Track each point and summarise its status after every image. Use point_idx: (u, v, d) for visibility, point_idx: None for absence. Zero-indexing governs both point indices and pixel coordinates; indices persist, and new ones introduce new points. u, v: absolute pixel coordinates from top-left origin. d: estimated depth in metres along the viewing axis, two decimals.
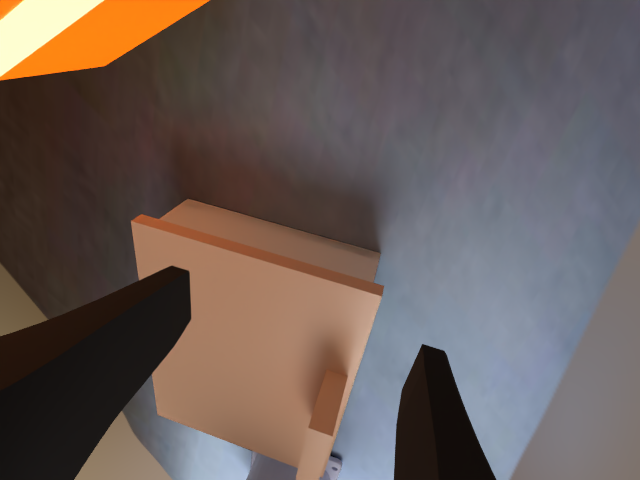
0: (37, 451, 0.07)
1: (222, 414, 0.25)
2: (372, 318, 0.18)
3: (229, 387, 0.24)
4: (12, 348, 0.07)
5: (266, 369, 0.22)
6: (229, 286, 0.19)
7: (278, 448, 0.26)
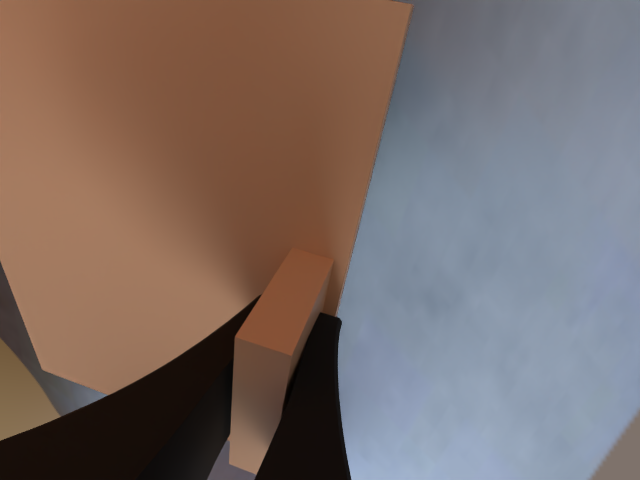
0: None
1: (131, 362, 0.15)
2: (386, 86, 0.08)
3: (131, 307, 0.14)
4: (148, 398, 0.07)
5: (183, 261, 0.12)
6: (83, 56, 0.09)
7: None
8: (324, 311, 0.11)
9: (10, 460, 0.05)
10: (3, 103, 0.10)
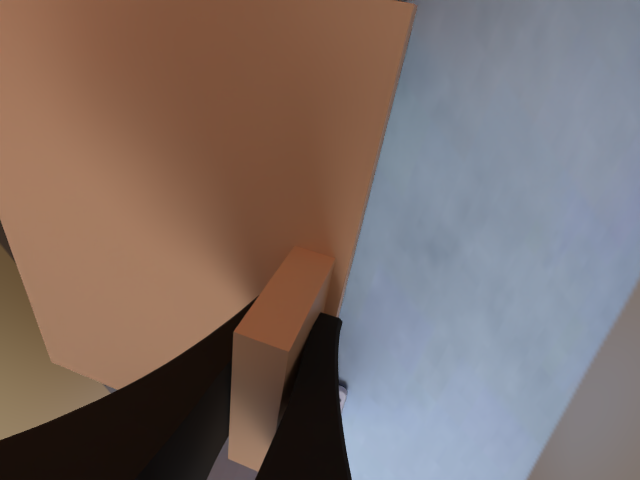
0: None
1: (137, 356, 0.16)
2: (388, 85, 0.08)
3: (137, 302, 0.14)
4: (147, 398, 0.07)
5: (188, 257, 0.12)
6: (93, 55, 0.09)
7: None
8: (326, 310, 0.11)
9: (9, 460, 0.05)
10: (16, 100, 0.11)
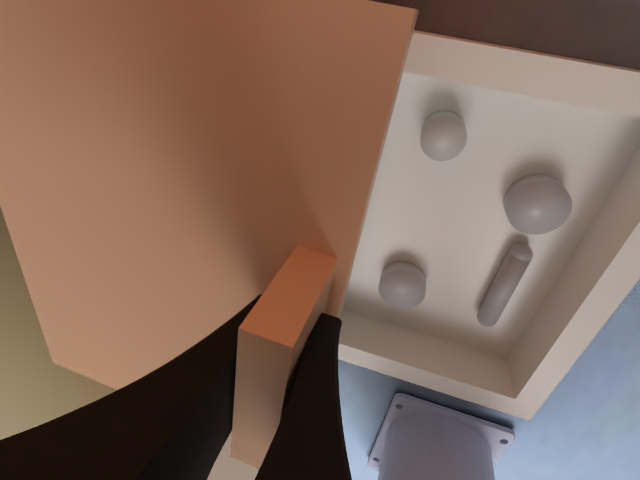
0: None
1: (139, 356, 0.16)
2: (390, 87, 0.08)
3: (140, 302, 0.14)
4: (147, 398, 0.07)
5: (191, 257, 0.12)
6: (101, 58, 0.10)
7: None
8: (327, 309, 0.11)
9: (9, 460, 0.05)
10: (24, 101, 0.11)
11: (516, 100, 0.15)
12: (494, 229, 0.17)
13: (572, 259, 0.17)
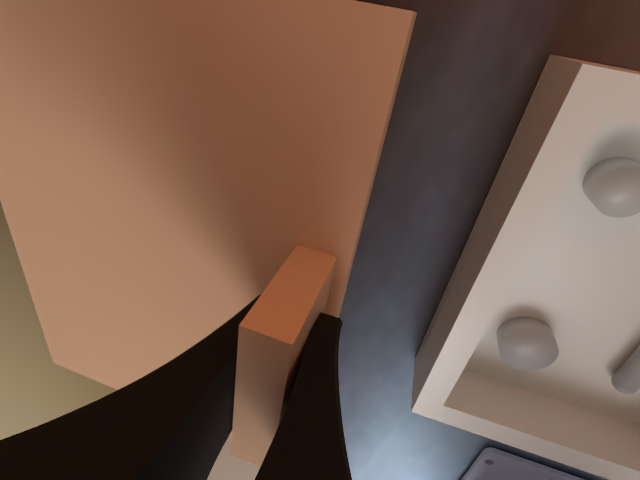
0: None
1: (139, 356, 0.16)
2: (389, 88, 0.08)
3: (141, 302, 0.14)
4: (147, 398, 0.07)
5: (192, 256, 0.12)
6: (103, 59, 0.10)
7: None
8: (327, 308, 0.11)
9: (9, 460, 0.05)
10: (27, 102, 0.11)
11: None
12: None
13: None
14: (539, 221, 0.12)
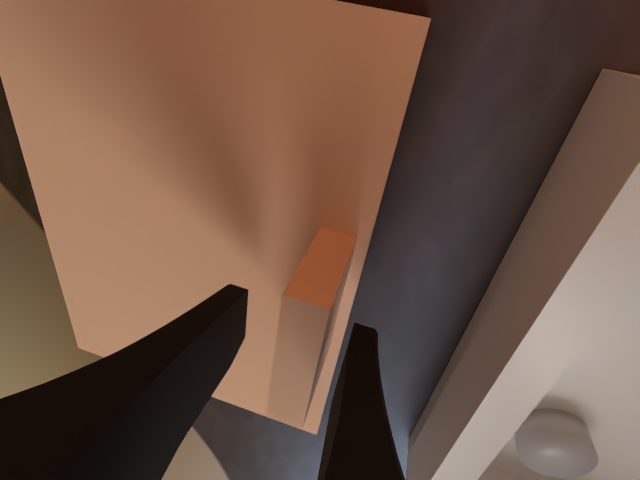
0: None
1: None
2: (408, 85, 0.09)
3: (169, 285, 0.15)
4: (99, 380, 0.07)
5: (221, 241, 0.13)
6: (144, 60, 0.11)
7: (250, 390, 0.17)
8: (347, 284, 0.13)
9: None
10: (66, 100, 0.12)
11: None
12: None
13: None
14: (590, 322, 0.08)
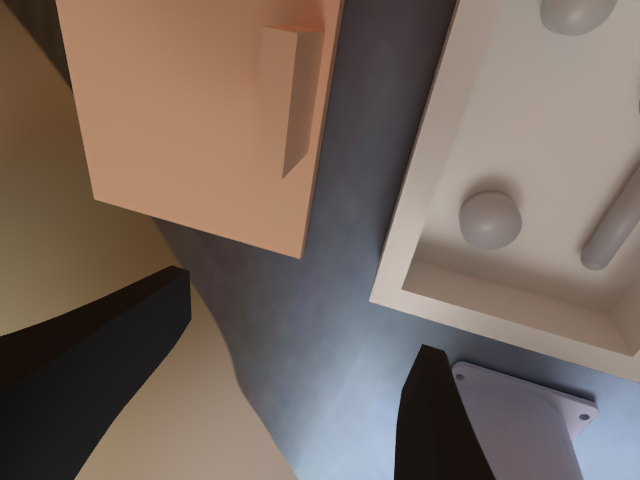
0: (37, 451, 0.07)
1: (170, 172, 0.20)
2: None
3: (174, 111, 0.18)
4: (12, 347, 0.07)
5: (216, 54, 0.16)
6: None
7: (242, 218, 0.20)
8: (319, 82, 0.16)
9: None
10: None
11: None
12: (620, 141, 0.14)
13: None
14: (487, 28, 0.11)
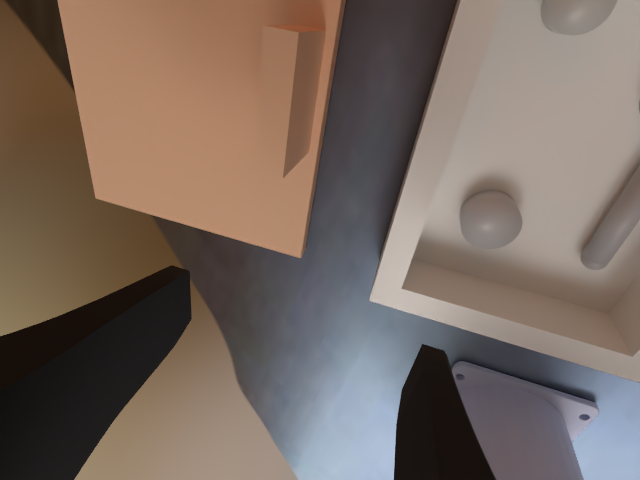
0: (37, 451, 0.07)
1: (171, 171, 0.20)
2: None
3: (175, 111, 0.18)
4: (13, 347, 0.07)
5: (218, 53, 0.16)
6: None
7: (243, 217, 0.20)
8: (320, 82, 0.16)
9: None
10: None
11: None
12: (620, 140, 0.14)
13: None
14: (487, 28, 0.11)
